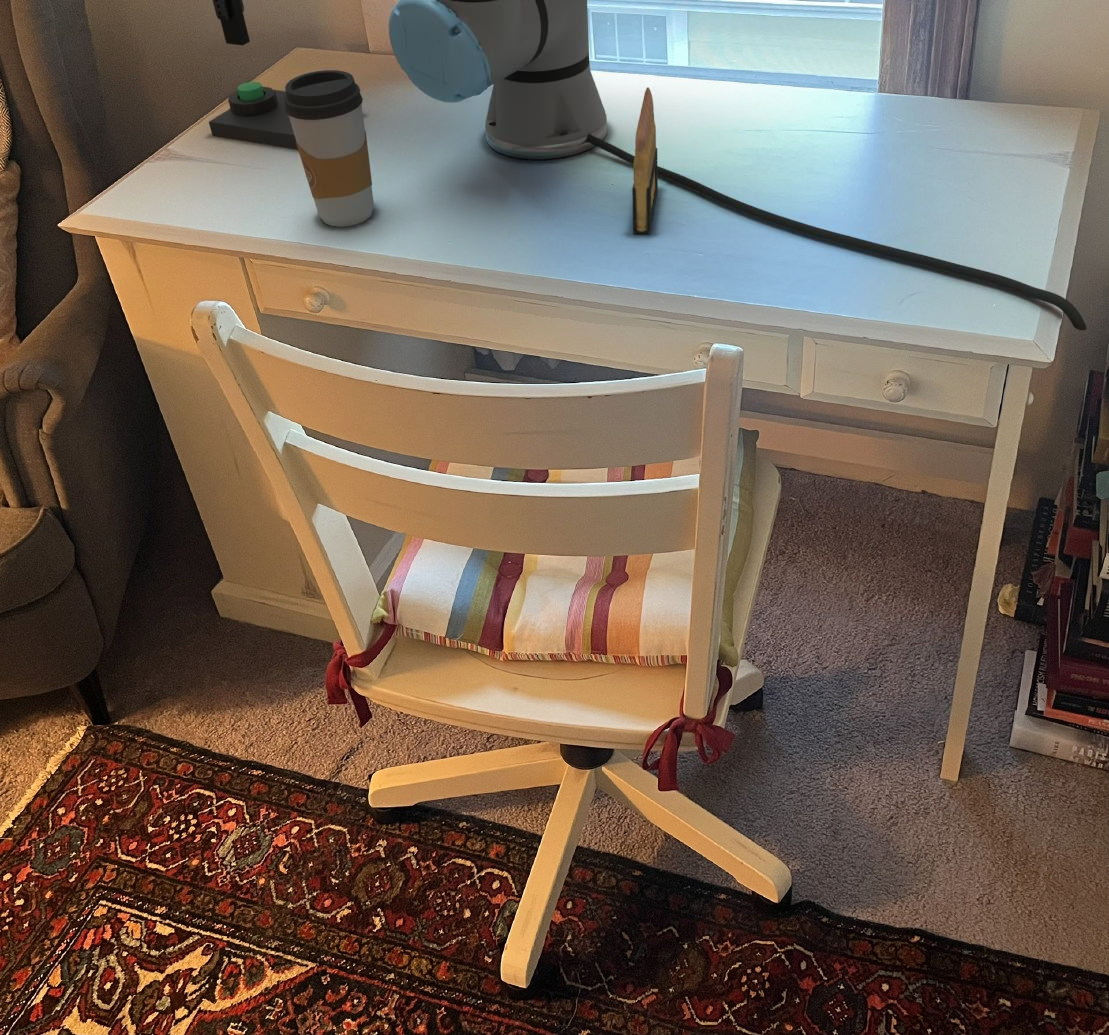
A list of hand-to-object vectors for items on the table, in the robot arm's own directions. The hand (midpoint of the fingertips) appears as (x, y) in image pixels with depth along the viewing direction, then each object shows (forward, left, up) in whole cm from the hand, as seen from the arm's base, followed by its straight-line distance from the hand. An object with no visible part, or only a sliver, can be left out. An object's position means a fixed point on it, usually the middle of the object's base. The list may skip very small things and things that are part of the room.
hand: (238, 42), depth 140 cm
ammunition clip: (-60, +7, -11) cm, 61 cm away
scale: (-5, 0, -10) cm, 11 cm away
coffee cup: (-28, +19, -11) cm, 35 cm away
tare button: (0, 0, -7) cm, 7 cm away
